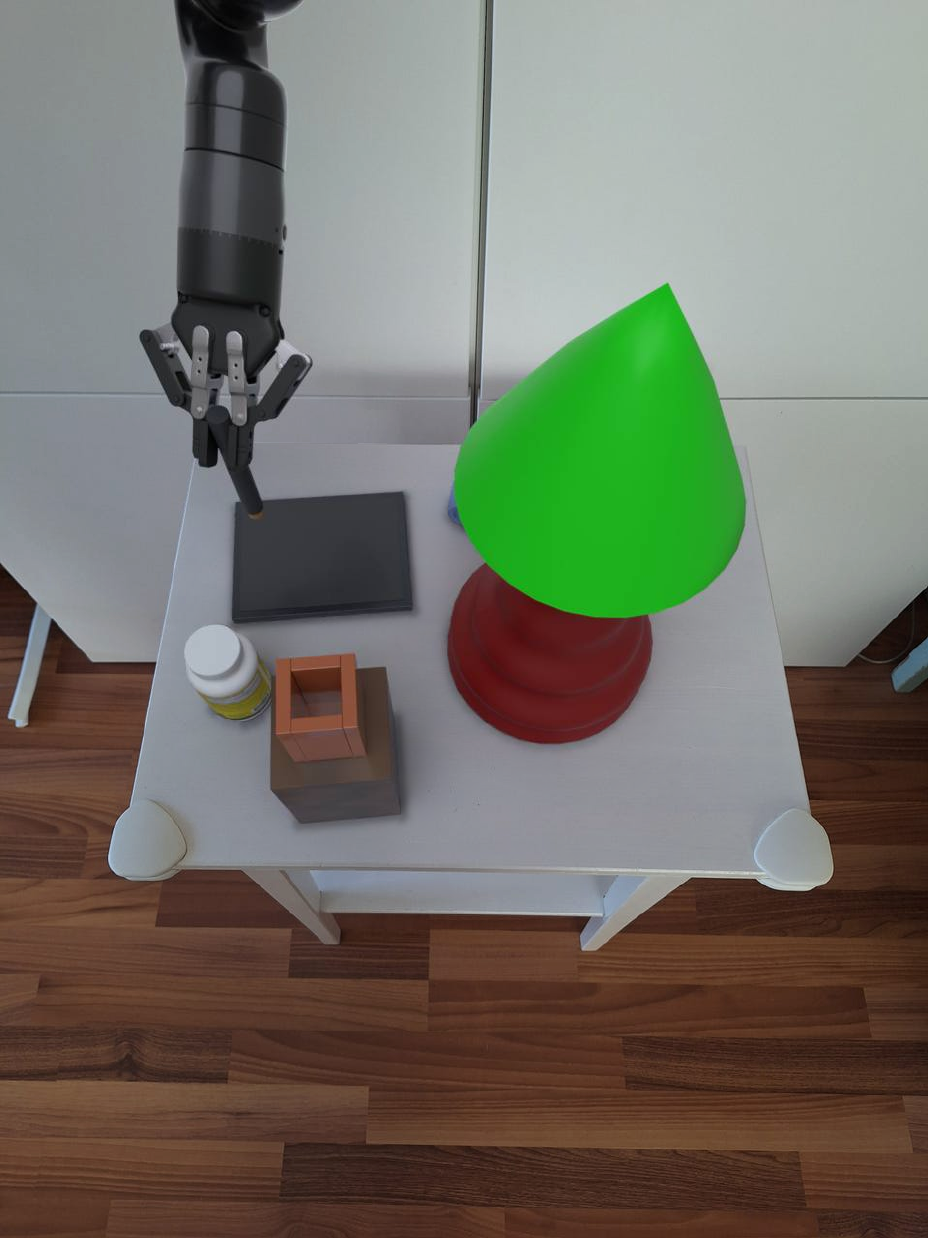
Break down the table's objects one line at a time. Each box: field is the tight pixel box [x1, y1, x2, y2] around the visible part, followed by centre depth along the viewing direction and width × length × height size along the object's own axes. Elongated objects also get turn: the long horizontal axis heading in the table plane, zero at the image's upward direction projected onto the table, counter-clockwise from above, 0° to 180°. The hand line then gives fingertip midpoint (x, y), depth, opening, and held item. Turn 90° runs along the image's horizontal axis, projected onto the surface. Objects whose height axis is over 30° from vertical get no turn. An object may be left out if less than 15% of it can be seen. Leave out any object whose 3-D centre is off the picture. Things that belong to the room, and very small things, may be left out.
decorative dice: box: [447, 480, 463, 526], centre depth 82 cm, size 4×4×4 cm
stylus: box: [206, 404, 264, 519], centre depth 65 cm, size 2×2×14 cm
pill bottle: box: [183, 624, 272, 723], centre depth 69 cm, size 6×6×11 cm
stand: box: [269, 666, 401, 825], centre depth 65 cm, size 9×9×14 cm
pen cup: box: [275, 652, 367, 763], centre depth 55 cm, size 5×5×8 cm
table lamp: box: [446, 282, 747, 745], centre depth 57 cm, size 20×20×45 cm
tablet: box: [231, 491, 413, 624], centre depth 80 cm, size 18×14×1 cm
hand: (222, 467), depth 62 cm, fingers closed on stylus, 2 cm apart
